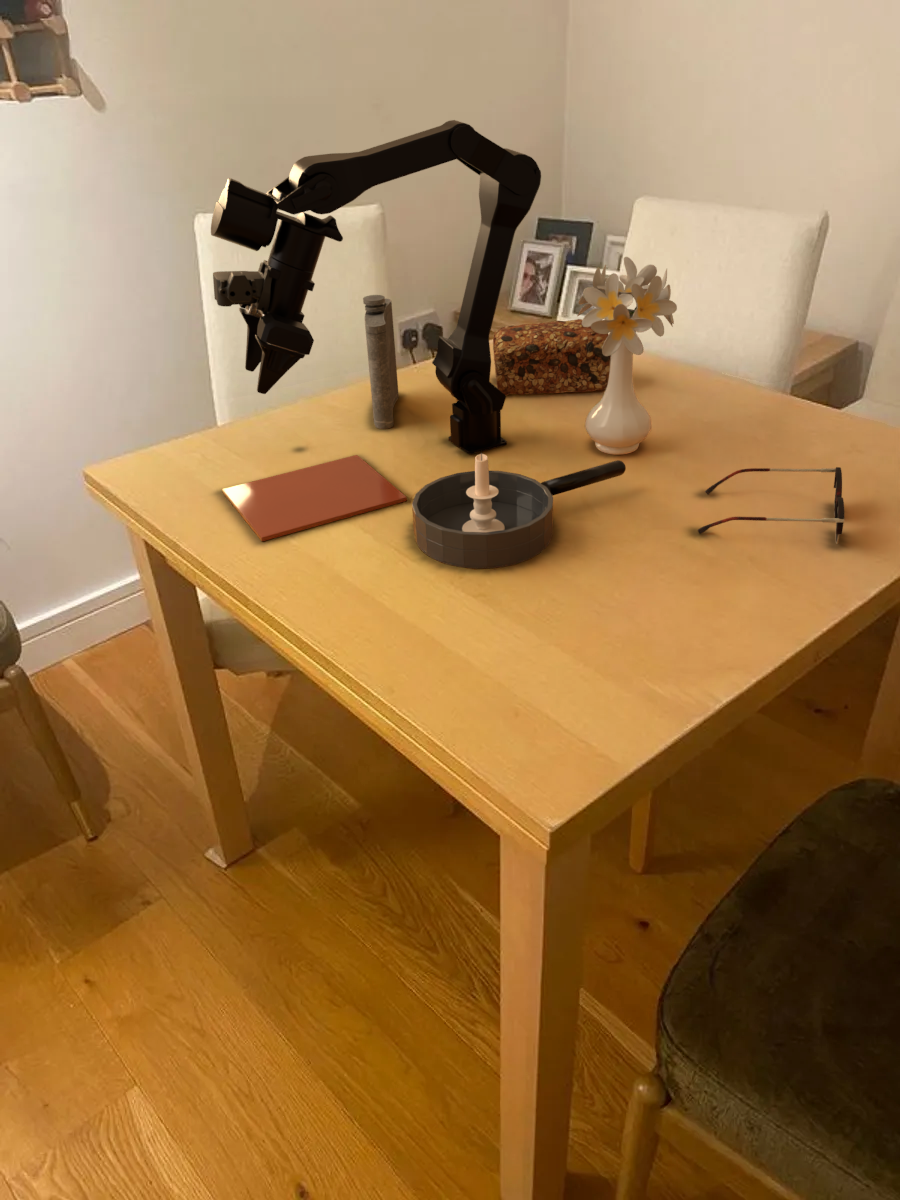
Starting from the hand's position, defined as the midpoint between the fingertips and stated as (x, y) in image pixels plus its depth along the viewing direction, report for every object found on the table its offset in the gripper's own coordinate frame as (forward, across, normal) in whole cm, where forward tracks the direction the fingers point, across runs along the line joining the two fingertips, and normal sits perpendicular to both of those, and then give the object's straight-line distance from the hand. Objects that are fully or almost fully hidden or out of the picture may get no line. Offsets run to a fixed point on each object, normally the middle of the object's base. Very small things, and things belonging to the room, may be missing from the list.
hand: (254, 381), depth 126 cm
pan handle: (-5, +23, +38) cm, 44 cm away
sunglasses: (-10, +36, +56) cm, 67 cm away
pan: (+4, +26, +26) cm, 37 cm away
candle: (+4, +26, +26) cm, 36 cm away
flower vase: (-8, +10, +50) cm, 52 cm away
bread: (-9, -18, +51) cm, 55 cm away
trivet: (+11, +7, +10) cm, 17 cm away
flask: (+4, -18, +26) cm, 32 cm away
